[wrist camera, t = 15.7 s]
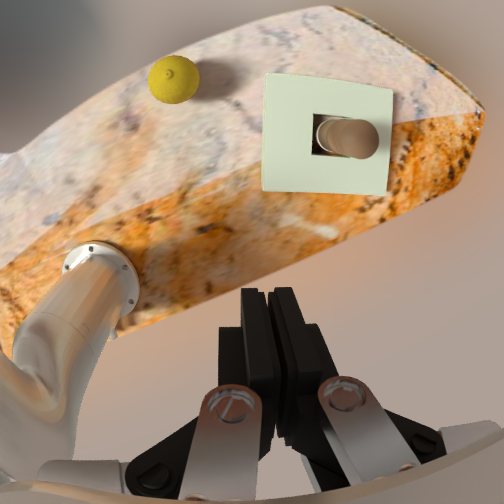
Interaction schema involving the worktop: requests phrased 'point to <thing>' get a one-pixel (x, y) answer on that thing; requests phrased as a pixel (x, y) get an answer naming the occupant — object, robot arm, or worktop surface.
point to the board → (300, 135)
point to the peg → (347, 137)
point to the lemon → (173, 79)
